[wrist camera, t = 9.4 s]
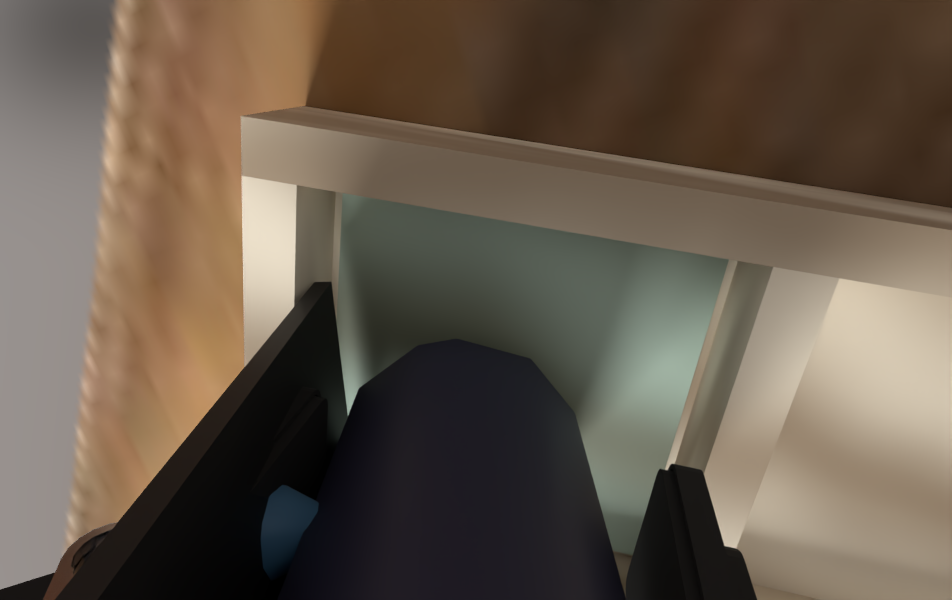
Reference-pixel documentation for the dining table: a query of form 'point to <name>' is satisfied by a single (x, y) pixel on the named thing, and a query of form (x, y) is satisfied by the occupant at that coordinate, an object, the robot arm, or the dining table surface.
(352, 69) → the dining table surface
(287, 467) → the robot arm
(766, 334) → the sorting tray
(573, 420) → the speaker
